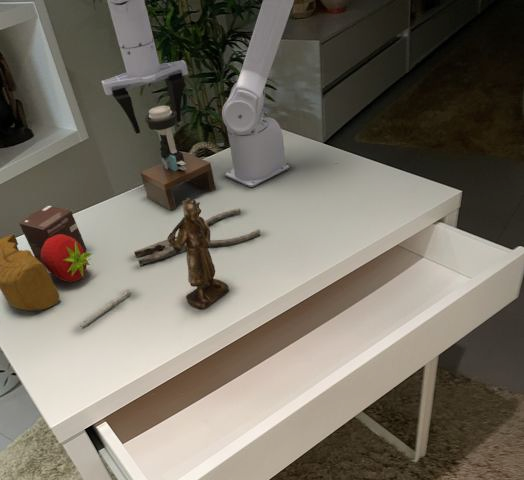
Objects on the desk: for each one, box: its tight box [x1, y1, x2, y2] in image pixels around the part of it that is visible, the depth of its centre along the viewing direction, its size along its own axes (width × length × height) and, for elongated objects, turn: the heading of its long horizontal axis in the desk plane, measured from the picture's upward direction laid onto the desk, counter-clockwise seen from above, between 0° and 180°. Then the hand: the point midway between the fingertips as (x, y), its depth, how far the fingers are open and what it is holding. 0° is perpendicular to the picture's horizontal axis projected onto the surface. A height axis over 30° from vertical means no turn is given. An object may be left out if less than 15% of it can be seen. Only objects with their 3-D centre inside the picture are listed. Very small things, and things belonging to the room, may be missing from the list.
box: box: [18, 205, 87, 264], centre depth 90 cm, size 6×6×7 cm
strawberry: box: [41, 234, 93, 283], centre depth 84 cm, size 6×8×10 cm
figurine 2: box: [0, 233, 60, 312], centre depth 84 cm, size 7×7×15 cm
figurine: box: [166, 197, 230, 310], centre depth 73 cm, size 7×4×15 cm, turn 137°
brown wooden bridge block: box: [140, 151, 216, 211], centre depth 102 cm, size 10×8×5 cm
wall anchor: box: [79, 289, 132, 329], centre depth 79 cm, size 1×9×1 cm
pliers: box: [133, 208, 261, 266], centre depth 89 cm, size 10×1×20 cm
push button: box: [144, 105, 187, 171], centre depth 97 cm, size 7×5×10 cm
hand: (157, 125), depth 101 cm, fingers open, 7 cm apart
